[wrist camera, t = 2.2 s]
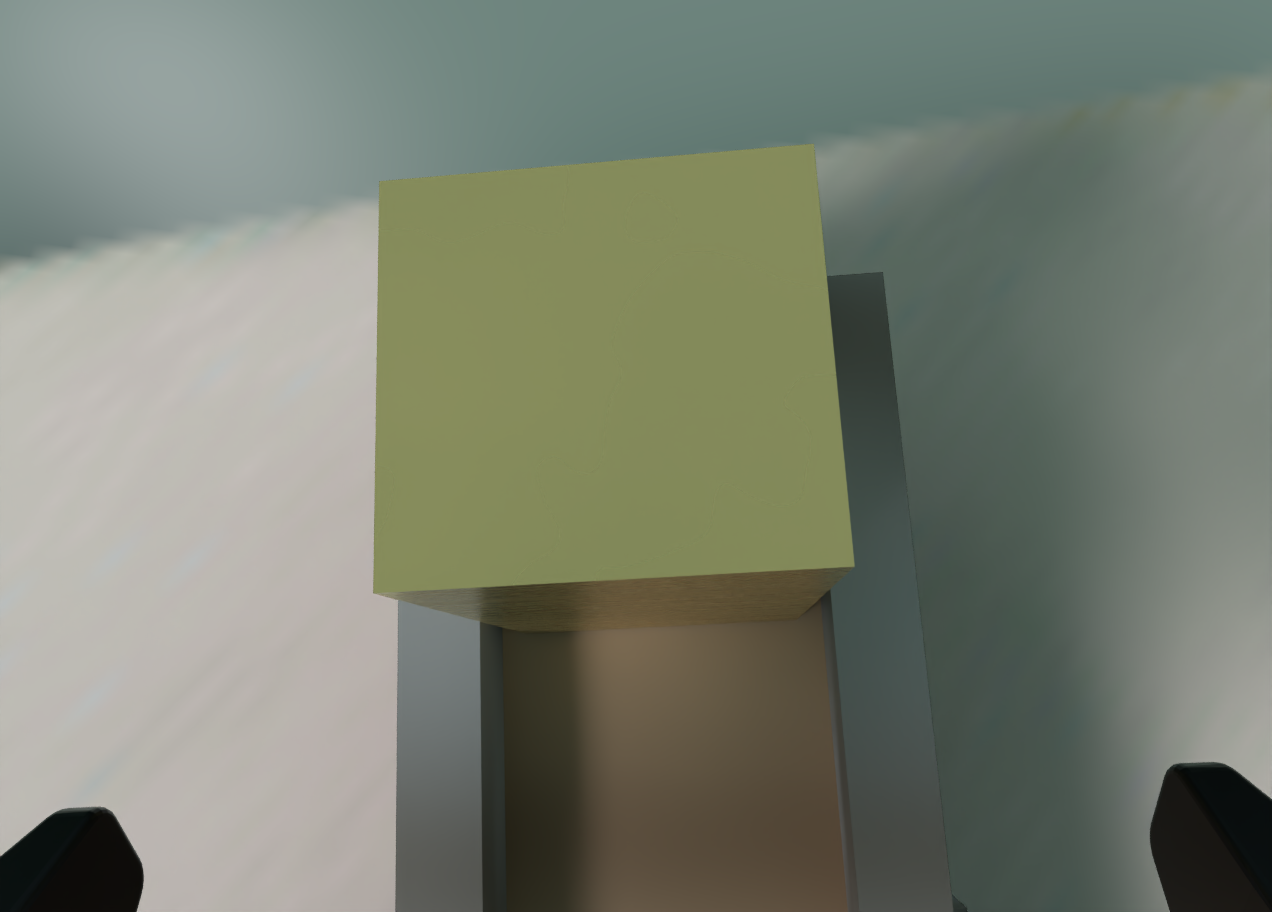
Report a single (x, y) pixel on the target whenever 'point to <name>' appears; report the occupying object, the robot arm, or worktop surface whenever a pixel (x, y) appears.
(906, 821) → the grey open tray
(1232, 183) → the worktop surface
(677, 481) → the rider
